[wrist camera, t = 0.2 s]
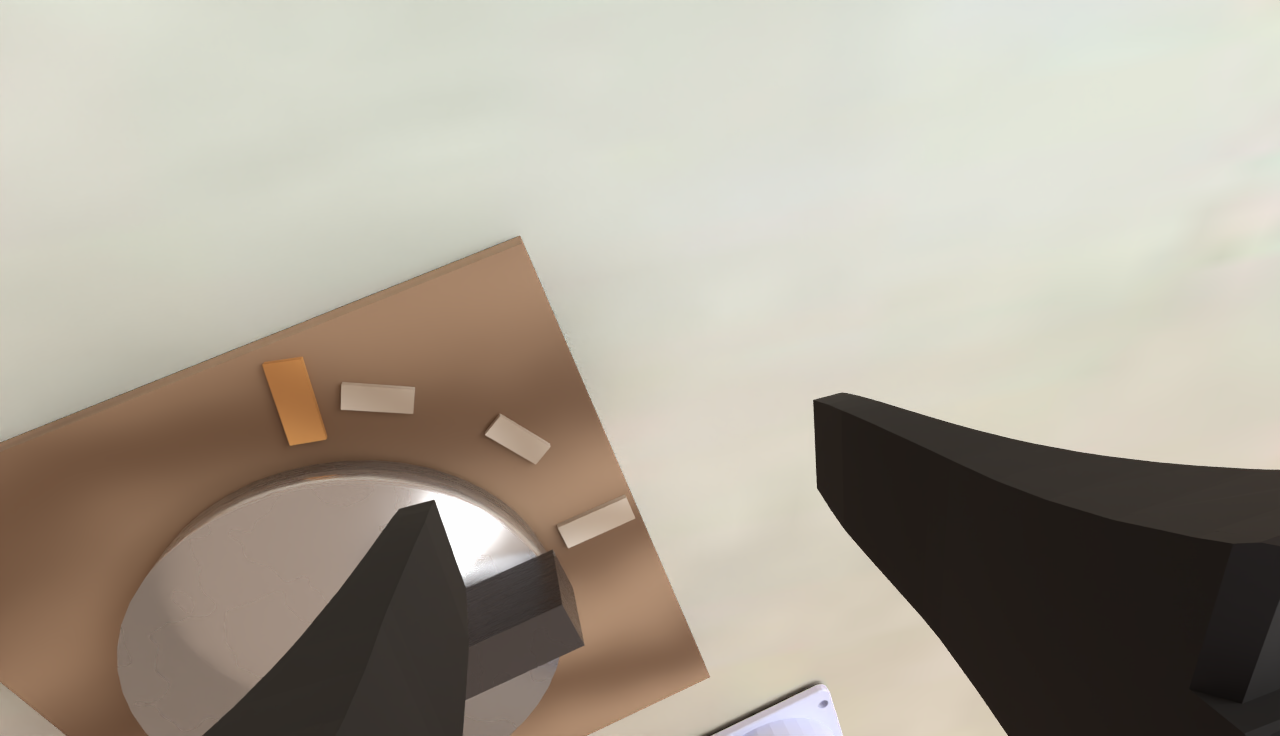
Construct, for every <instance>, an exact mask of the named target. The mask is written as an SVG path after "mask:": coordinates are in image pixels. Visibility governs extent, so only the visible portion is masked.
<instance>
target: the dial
mask: <svg viewBox="0 0 1280 736" xmlns="http://www.w3.org/2000/svg"><path fill="white" fill-rule="evenodd" d="M434 499H435V502H436V505H437V507H438V510H439V513H440V516H441V519H442V522H443V525H444V527H445V530H446V533H447V536H448V539H449V542H450V544H451V547H452V550H453V553H454V556H455V559H456V561H457V564H458V567H459V570H460V573H461V576H462V578H463V581H464V584H465V587H466V595H467V609H468V627H469V654H468V669H467V684H466V698H465V712H464V725H463V736H510V735H511V734H512V733H513V732H514V731H515V730H516V729H517V728H518V727H519V726H520V725H521V724H522V723H523V722H524V721H525V720H526V719H527V717H528V716H529V715H530V714H531V712H532V711H533V710H534V709H535V707H536V706H537V705H538V703H539V702H540V700H541V699H542V697H543V695H544V694H545V692H546V690H547V689H548V687H549V685H550V683H551V680H552V678H553V676H554V673H555V671H556V669H557V665H558V661H559V657H561V656H563V655H565V654H567V653H569V652H571V651H574V650H576V649H578V648H580V647H582V646H584V645H585V644H584V639H583V634H582V629H581V624H580V620H579V615H578V610H577V605H576V600H575V595H574V590H573V587H572V585H571V583H570V581H569V579H568V577H567V575H566V574H565V572H564V570H563V568H562V566H561V564H560V562H559V560H558V558H557V557H556V555H555V553H554V551H553V549H552V550H550V551H548V552H546V550H545V548H544V546H543V545H542V543H541V542H540V540H539V539H538V537H537V536H536V534H535V532H534V531H533V530H532V529H531V528H530V527H529V525H528V524H527V523H526V522H525V521H524V520H523V519H522V518H521V516H520V515H518V514H517V513H516V512H515V511H514V510H512V509H511V508H510V507H509V506H508V505H506V504H505V503H504V502H503V501H502V500H500V499H498V498H497V497H495V496H494V495H492V494H490V493H489V492H487V491H486V490H484V489H482V488H481V487H478V486H476V485H474V484H472V483H470V482H468V481H465V480H463V479H461V478H459V477H456V476H453V475H450V474H447V473H444V472H441V471H438V470H435V469H431V468H426V467H421V466H416V465H411V464H406V463H398V462H387V461H376V460H366V461H339V462H331V463H322V464H314V465H310V466H305V467H301V468H297V469H292V470H288V471H284V472H281V473H278V474H275V475H272V476H270V477H267V478H264V479H261V480H258V481H255V482H253V483H251V484H249V485H247V486H245V487H243V488H241V489H239V490H237V491H235V492H233V493H231V494H229V495H227V496H226V497H224V498H222V499H221V500H219V501H218V502H216V503H215V504H213V505H212V506H210V507H209V508H207V509H206V510H204V511H203V512H202V513H201V514H200V515H198V516H197V517H196V518H195V519H194V520H193V521H191V522H190V523H189V524H188V525H187V526H186V527H185V528H183V530H182V531H181V532H180V533H179V534H178V535H177V536H176V538H175V539H174V540H173V541H172V542H171V543H170V545H169V546H168V547H167V548H166V550H165V551H164V552H163V554H162V555H161V557H160V558H159V559H158V561H157V562H156V564H155V565H154V566H153V568H152V569H151V570H150V572H149V573H148V575H147V576H146V577H145V579H144V580H143V582H142V584H141V585H140V587H139V588H138V590H137V592H136V593H135V595H134V597H133V598H132V600H131V602H130V604H129V606H128V609H127V611H126V614H125V617H124V619H123V622H122V624H121V629H120V634H119V640H118V646H117V665H118V675H119V679H120V683H121V687H122V692H123V695H124V697H125V699H126V701H127V703H128V705H129V708H130V710H131V712H132V714H133V715H134V717H135V718H136V720H137V721H138V723H139V724H140V725H141V727H142V728H143V730H144V731H145V732H146V733H147V734H148V736H202V735H203V734H204V733H205V732H207V731H208V730H209V729H210V728H211V727H212V726H213V725H214V724H215V723H216V722H218V721H219V720H220V719H221V718H222V717H223V716H224V715H225V714H226V713H227V712H229V711H230V710H231V709H232V708H233V707H234V706H235V705H236V704H237V703H238V702H239V701H240V700H241V699H242V698H243V697H244V696H245V695H246V694H247V693H248V692H249V691H250V690H251V689H252V688H253V687H254V686H255V685H256V684H257V683H258V682H259V681H260V680H261V679H262V678H263V677H264V676H265V675H266V674H267V673H268V672H269V671H270V670H271V669H272V667H273V666H274V665H275V664H276V663H277V662H278V661H279V660H280V659H281V658H282V657H283V656H284V655H285V653H286V652H287V651H288V650H289V649H290V648H291V647H292V646H293V645H294V643H295V642H296V641H297V640H298V639H299V638H300V637H301V635H302V634H303V633H304V632H305V631H306V629H307V628H308V627H309V626H310V624H311V623H312V622H313V621H314V620H315V618H316V617H317V616H318V615H319V614H320V612H321V611H322V610H323V609H324V608H325V606H326V605H327V604H328V603H329V601H330V600H331V599H332V598H333V597H334V595H335V594H336V593H337V592H338V591H339V589H340V588H341V587H342V585H343V584H344V583H345V581H346V580H347V579H348V577H349V576H350V575H351V573H352V572H353V571H354V569H355V568H356V567H357V565H358V564H359V563H360V561H361V560H362V559H363V557H364V556H365V555H366V553H367V552H368V550H369V549H370V548H371V546H372V545H373V543H374V542H375V541H376V539H377V538H378V536H379V535H380V534H381V532H382V531H383V530H384V528H385V527H386V525H387V524H388V523H389V521H390V520H391V518H392V517H393V516H394V515H395V513H396V512H397V511H398V509H400V508H404V507H407V506H411V505H415V504H419V503H423V502H426V501H430V500H434Z"/></svg>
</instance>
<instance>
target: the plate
mask: <svg viewBox="0 0 1280 736" xmlns="http://www.w3.org/2000/svg"><path fill="white" fill-rule="evenodd" d="M366 460H376V461H387V462H398V463H406V464H411V465H416V466H421V467H426V468H431V469H435V470H438V471H441V472H444V473H447V474H450V475H453V476H456V477H459V478H461V479H463V480H465V481H468V482H470V483H472V484H474V485H476V486H478V487H481V488H482V489H484V490H486V491H487V492H489V493H490V494H492V495H494V496H495V497H497V498H498V499H500V500H502V501H503V502H504V503H505V504H506V505H508V506H509V507H510V508H511V509H512V510H514V511H515V512H516V513H517V514H518V515H520V516H521V518H522V519H523V520H524V521H525V522H526V523H527V524H528V525H529V527H530V528H531V529H532V530H533V531H534V532H535V534H536V536H537V537H538V539H539V540H540V542H541V543H542V545H543V546H544V548H545V550H546V552H548V551H550V550H552V549H553V551H554V553H555V555H556V557H557V558H558V560H559V562H560V564H561V566H562V568H563V570H564V572H565V574H566V575H567V577H568V579H569V581H570V583H571V585H572V587H573V590H574V595H575V600H576V605H577V610H578V615H579V620H580V624H581V629H582V634H583V639H584V644H585V645H584V646H582V647H580V648H578V649H576V650H574V651H571V652H569V653H567V654H565V655H563V656H561V657H559V661H558V665H557V669H556V671H555V673H554V676H553V678H552V680H551V683H550V685H549V687H548V689H547V690H546V692H545V694H544V695H543V697H542V699H541V700H540V702H539V703H538V705H537V706H536V707H535V709H534V710H533V711H532V712H531V714H530V715H529V716H528V717H527V719H526V720H525V721H524V722H523V723H522V724H521V725H520V726H519V727H518V728H517V729H516V730H515V731H514V732H513V733H512V734H511V735H510V736H587V735H589V734H591V733H593V732H595V731H597V730H599V729H602V728H604V727H606V726H608V725H610V724H612V723H614V722H616V721H618V720H621V719H623V718H625V717H627V716H629V715H631V714H633V713H635V712H637V711H639V710H642V709H644V708H646V707H648V706H650V705H652V704H654V703H656V702H658V701H661V700H663V699H665V698H667V697H669V696H671V695H673V694H675V693H677V692H680V691H682V690H684V689H686V688H688V687H690V686H692V685H694V684H696V683H699V682H701V681H703V680H705V679H707V678H709V677H710V676H709V673H708V671H707V669H706V666H705V664H704V661H703V659H702V656H701V654H700V652H699V649H698V647H697V645H696V643H695V640H694V638H693V636H692V633H691V631H690V629H689V626H688V624H687V622H686V619H685V617H684V615H683V612H682V610H681V608H680V605H679V603H678V601H677V598H676V596H675V594H674V591H673V589H672V587H671V585H670V582H669V580H668V578H667V575H666V573H665V571H664V568H663V566H662V564H661V561H660V559H659V557H658V554H657V552H656V550H655V547H654V545H653V543H652V540H651V538H650V536H649V534H648V531H647V529H646V527H645V524H644V522H643V520H642V517H641V515H640V513H639V510H638V508H637V506H636V503H635V501H634V499H633V496H632V494H631V492H630V489H629V487H628V485H627V482H626V480H625V478H624V476H623V473H622V471H621V469H620V466H619V464H618V462H617V459H616V457H615V455H614V452H613V450H612V448H611V445H610V443H609V441H608V438H607V436H606V434H605V431H604V429H603V427H602V424H601V422H600V420H599V418H598V415H597V413H596V411H595V408H594V406H593V404H592V401H591V399H590V397H589V394H588V392H587V390H586V387H585V385H584V383H583V380H582V378H581V376H580V373H579V371H578V369H577V367H576V364H575V362H574V360H573V357H572V355H571V353H570V350H569V348H568V346H567V343H566V341H565V339H564V336H563V334H562V332H561V329H560V327H559V325H558V322H557V320H556V318H555V315H554V313H553V311H552V309H551V306H550V304H549V302H548V299H547V297H546V295H545V292H544V290H543V288H542V285H541V283H540V281H539V278H538V276H537V274H536V271H535V269H534V267H533V264H532V262H531V260H530V257H529V255H528V253H527V251H526V248H525V246H524V244H523V241H522V239H521V237H520V236H518V237H516V238H513V239H511V240H508V241H506V242H503V243H501V244H498V245H496V246H493V247H491V248H488V249H486V250H483V251H480V252H478V253H475V254H473V255H470V256H468V257H465V258H463V259H460V260H458V261H455V262H453V263H450V264H448V265H445V266H443V267H440V268H438V269H435V270H433V271H430V272H428V273H425V274H423V275H420V276H418V277H415V278H413V279H410V280H408V281H405V282H403V283H400V284H398V285H395V286H393V287H390V288H388V289H385V290H383V291H380V292H378V293H375V294H373V295H370V296H368V297H365V298H363V299H360V300H357V301H355V302H352V303H350V304H347V305H345V306H342V307H340V308H337V309H335V310H332V311H330V312H327V313H325V314H322V315H320V316H317V317H315V318H312V319H310V320H307V321H305V322H302V323H300V324H297V325H295V326H292V327H290V328H287V329H285V330H282V331H280V332H277V333H275V334H272V335H270V336H267V337H265V338H262V339H260V340H257V341H255V342H252V343H250V344H247V345H245V346H242V347H240V348H237V349H234V350H232V351H229V352H227V353H224V354H222V355H219V356H217V357H214V358H212V359H209V360H207V361H204V362H202V363H199V364H197V365H194V366H192V367H189V368H187V369H184V370H182V371H179V372H177V373H174V374H172V375H169V376H167V377H164V378H162V379H159V380H157V381H154V382H152V383H149V384H147V385H144V386H142V387H139V388H137V389H134V390H132V391H129V392H127V393H124V394H122V395H119V396H117V397H114V398H112V399H109V400H106V401H104V402H101V403H99V404H96V405H94V406H91V407H89V408H86V409H84V410H81V411H79V412H76V413H74V414H71V415H69V416H66V417H64V418H61V419H59V420H56V421H54V422H51V423H49V424H46V425H44V426H41V427H39V428H36V429H34V430H31V431H29V432H26V433H24V434H21V435H19V436H16V437H14V438H11V439H9V440H6V441H4V442H1V443H0V682H1V683H2V684H3V685H5V686H6V687H7V688H8V689H10V690H11V691H12V692H13V693H15V694H16V695H17V696H18V697H20V698H21V699H22V700H23V701H24V702H26V703H27V704H28V705H29V706H31V707H32V708H33V709H34V710H36V711H37V712H38V713H39V714H41V715H42V716H43V717H44V718H46V719H47V720H48V721H49V722H50V723H52V724H53V725H54V726H55V727H57V728H58V729H59V730H60V731H62V732H63V733H64V734H65V735H67V736H148V734H147V733H146V732H145V731H144V730H143V728H142V727H141V725H140V724H139V723H138V721H137V720H136V718H135V717H134V715H133V714H132V712H131V710H130V708H129V705H128V703H127V701H126V699H125V697H124V695H123V692H122V687H121V683H120V679H119V675H118V665H117V646H118V640H119V634H120V629H121V624H122V622H123V619H124V617H125V614H126V611H127V609H128V606H129V604H130V602H131V600H132V598H133V597H134V595H135V593H136V592H137V590H138V588H139V587H140V585H141V584H142V582H143V580H144V579H145V577H146V576H147V575H148V573H149V572H150V570H151V569H152V568H153V566H154V565H155V564H156V562H157V561H158V559H159V558H160V557H161V555H162V554H163V552H164V551H165V550H166V548H167V547H168V546H169V545H170V543H171V542H172V541H173V540H174V539H175V538H176V536H177V535H178V534H179V533H180V532H181V531H182V530H183V528H185V527H186V526H187V525H188V524H189V523H190V522H191V521H193V520H194V519H195V518H196V517H197V516H198V515H200V514H201V513H202V512H203V511H204V510H206V509H207V508H209V507H210V506H212V505H213V504H215V503H216V502H218V501H219V500H221V499H222V498H224V497H226V496H227V495H229V494H231V493H233V492H235V491H237V490H239V489H241V488H243V487H245V486H247V485H249V484H251V483H253V482H255V481H258V480H261V479H264V478H267V477H270V476H272V475H275V474H278V473H281V472H284V471H288V470H292V469H297V468H301V467H305V466H310V465H314V464H322V463H331V462H339V461H366Z"/></svg>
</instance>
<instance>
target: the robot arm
mask: <svg viewBox="0 0 1280 736" xmlns="http://www.w3.org/2000/svg"><path fill="white" fill-rule="evenodd" d="M813 404H814V428H815V452H816V475H817V489H818V490H819V492H820V493H821V495H822V497H823V498H824V500H825V501H826V503H827V504H828V506H829V508H830V509H831V511H832V512H833V514H834V515H835V516H836V518H837V519H838V521H839V522H840V524H841V525H842V527H843V528H844V529H845V531H846V532H847V533H848V534H849V535H850V536H851V538H852V539H853V540H854V541H855V542H856V543H857V545H858V546H859V547H860V548H861V549H862V550H863V551H864V553H865V554H866V555H867V556H868V557H869V558H870V559H871V561H872V562H873V563H874V564H875V565H876V566H877V567H878V568H879V570H880V571H881V572H882V573H883V574H884V575H885V576H886V577H887V578H888V580H889V581H890V582H891V583H892V584H893V585H894V586H895V587H896V589H897V590H898V591H899V592H900V593H901V594H902V595H903V596H904V598H905V599H906V600H907V601H908V602H909V603H910V604H911V605H912V607H913V608H914V609H915V610H916V611H917V612H918V613H919V614H920V616H921V617H922V618H923V619H924V620H925V621H926V623H927V624H928V625H929V626H930V628H931V629H932V630H933V631H934V632H935V634H936V635H937V636H938V637H939V639H940V640H941V641H942V643H943V644H944V645H945V647H946V648H947V649H948V651H949V652H950V654H951V655H952V656H953V658H954V659H955V660H956V662H957V663H958V665H959V666H960V667H961V669H962V670H963V672H964V673H965V674H966V676H967V677H968V678H969V680H970V681H971V683H972V684H973V685H974V687H975V688H976V690H977V691H978V692H979V694H980V695H981V697H982V698H983V700H984V701H985V703H986V704H987V706H988V707H989V709H990V710H991V711H992V713H993V714H994V716H995V717H996V719H997V720H998V722H999V723H1000V725H1001V726H1002V727H1003V729H1004V730H1005V732H1006V733H1007V735H1008V736H1280V470H1261V469H1241V468H1225V467H1208V466H1193V465H1182V464H1170V463H1159V462H1150V461H1142V460H1134V459H1126V458H1117V457H1109V456H1102V455H1095V454H1089V453H1082V452H1076V451H1071V450H1065V449H1060V448H1055V447H1049V446H1044V445H1038V444H1033V443H1028V442H1024V441H1019V440H1015V439H1010V438H1006V437H1002V436H998V435H994V434H990V433H986V432H982V431H978V430H974V429H971V428H967V427H963V426H960V425H956V424H952V423H949V422H945V421H942V420H939V419H935V418H932V417H928V416H925V415H922V414H918V413H915V412H912V411H909V410H905V409H902V408H899V407H895V406H892V405H889V404H886V403H882V402H879V401H875V400H872V399H868V398H865V397H861V396H857V395H853V394H848V393H838V394H835V395H831V396H827V397H823V398H819V399H816V400H813ZM468 654H469V627H468V609H467V595H466V587H465V584H464V581H463V578H462V576H461V573H460V570H459V567H458V564H457V561H456V559H455V556H454V553H453V550H452V547H451V544H450V542H449V539H448V536H447V533H446V530H445V527H444V525H443V522H442V519H441V516H440V513H439V510H438V507H437V505H436V502H435V499H434V500H430V501H426V502H423V503H419V504H415V505H411V506H407V507H404V508H400V509H398V511H397V512H396V513H395V515H394V516H393V517H392V518H391V520H390V521H389V523H388V524H387V525H386V527H385V528H384V530H383V531H382V532H381V534H380V535H379V536H378V538H377V539H376V541H375V542H374V543H373V545H372V546H371V548H370V549H369V550H368V552H367V553H366V555H365V556H364V557H363V559H362V560H361V561H360V563H359V564H358V565H357V567H356V568H355V569H354V571H353V572H352V573H351V575H350V576H349V577H348V579H347V580H346V581H345V583H344V584H343V585H342V587H341V588H340V589H339V591H338V592H337V593H336V594H335V595H334V597H333V598H332V599H331V600H330V601H329V603H328V604H327V605H326V606H325V608H324V609H323V610H322V611H321V612H320V614H319V615H318V616H317V617H316V618H315V620H314V621H313V622H312V623H311V624H310V626H309V627H308V628H307V629H306V631H305V632H304V633H303V634H302V635H301V637H300V638H299V639H298V640H297V641H296V642H295V643H294V645H293V646H292V647H291V648H290V649H289V650H288V651H287V652H286V653H285V655H284V656H283V657H282V658H281V659H280V660H279V661H278V662H277V663H276V664H275V665H274V666H273V667H272V669H271V670H270V671H269V672H268V673H267V674H266V675H265V676H264V677H263V678H262V679H261V680H260V681H259V682H258V683H257V684H256V685H255V686H254V687H253V688H252V689H251V690H250V691H249V692H248V693H247V694H246V695H245V696H244V697H243V698H242V699H241V700H240V701H239V702H238V703H237V704H236V705H235V706H234V707H233V708H232V709H231V710H230V711H229V712H227V713H226V714H225V715H224V716H223V717H222V718H221V719H220V720H219V721H218V722H216V723H215V724H214V725H213V726H212V727H211V728H210V729H209V730H208V731H207V732H205V733H204V734H203V735H202V736H463V725H464V712H465V698H466V684H467V669H468ZM711 736H843V734H842V731H841V727H840V724H839V721H838V718H837V714H836V711H835V708H834V704H833V701H832V698H831V694H830V692H829V690H828V689H827V687H826V686H825V685H823V684H818V685H815V686H813V687H811V688H809V689H807V690H805V691H803V692H801V693H798V694H796V695H794V696H792V697H790V698H788V699H786V700H784V701H782V702H780V703H778V704H776V705H774V706H772V707H769V708H767V709H765V710H763V711H761V712H759V713H757V714H755V715H753V716H751V717H749V718H747V719H745V720H743V721H740V722H738V723H736V724H734V725H732V726H730V727H728V728H726V729H724V730H722V731H720V732H718V733H716V734H714V735H711Z"/></svg>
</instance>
